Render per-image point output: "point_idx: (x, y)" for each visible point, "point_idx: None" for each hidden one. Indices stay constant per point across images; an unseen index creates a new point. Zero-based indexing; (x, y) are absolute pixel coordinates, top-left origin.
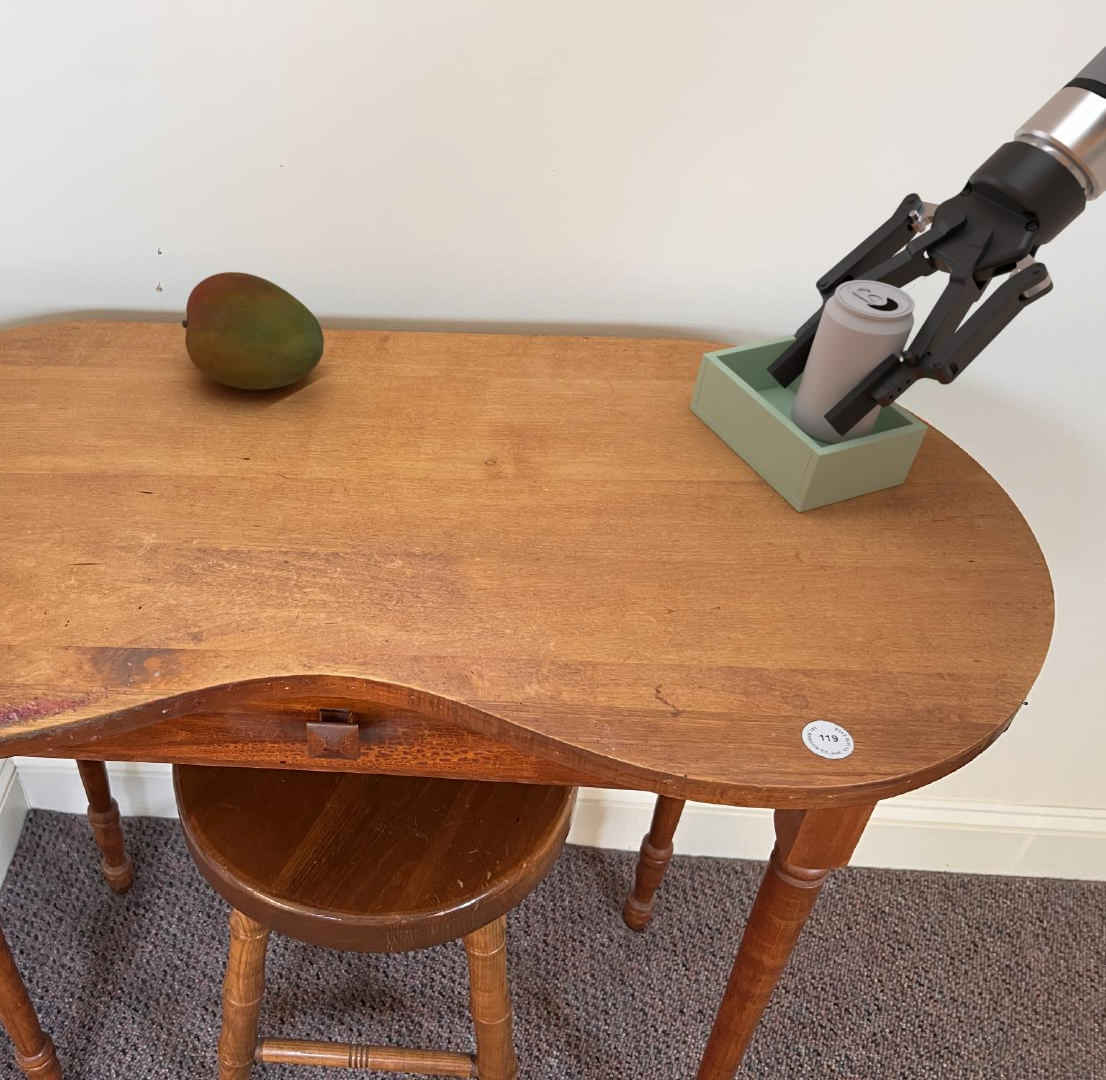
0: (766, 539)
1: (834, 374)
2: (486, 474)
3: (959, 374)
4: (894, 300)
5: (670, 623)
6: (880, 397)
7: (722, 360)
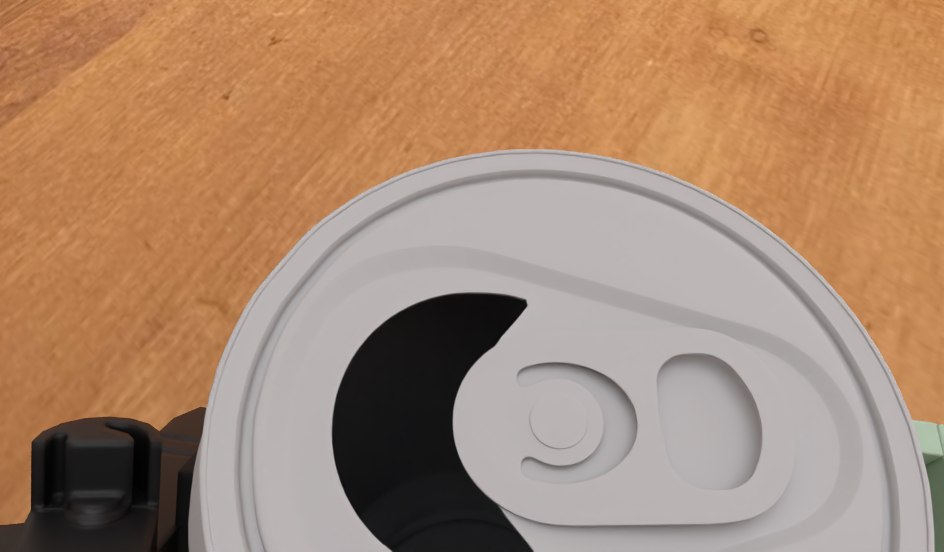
0: None
1: (434, 356)
2: (727, 17)
3: None
4: None
5: (253, 27)
6: (189, 413)
7: (937, 502)
